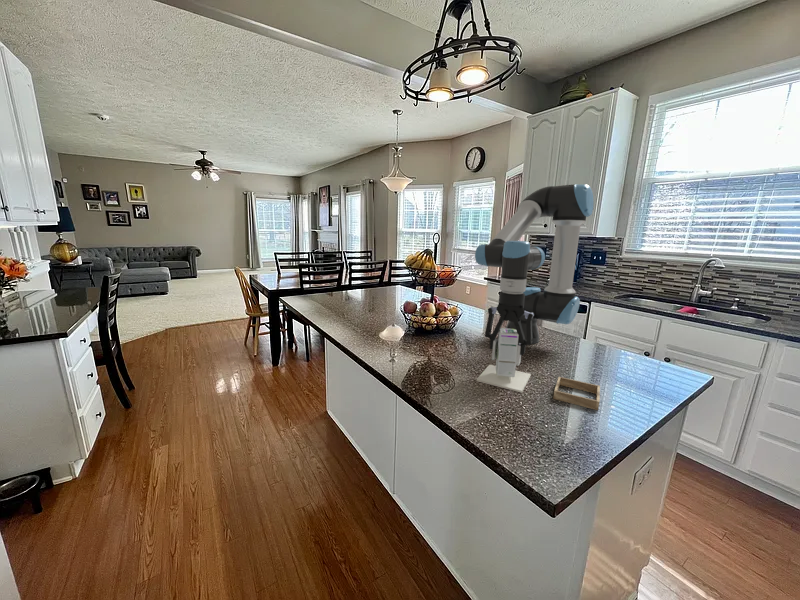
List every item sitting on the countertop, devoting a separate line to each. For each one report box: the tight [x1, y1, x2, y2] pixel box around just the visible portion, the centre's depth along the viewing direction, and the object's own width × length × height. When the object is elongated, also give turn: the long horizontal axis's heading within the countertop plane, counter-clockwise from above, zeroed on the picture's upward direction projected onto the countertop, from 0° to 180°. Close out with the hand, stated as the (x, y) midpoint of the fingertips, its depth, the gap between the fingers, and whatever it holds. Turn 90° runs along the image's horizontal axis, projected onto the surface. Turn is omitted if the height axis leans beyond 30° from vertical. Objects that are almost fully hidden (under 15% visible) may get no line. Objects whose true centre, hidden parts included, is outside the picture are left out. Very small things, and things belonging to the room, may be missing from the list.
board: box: [476, 364, 532, 394], centre depth 107 cm, size 14×14×1 cm
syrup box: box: [495, 327, 519, 377], centre depth 105 cm, size 6×6×14 cm
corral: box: [552, 376, 601, 411], centre depth 96 cm, size 11×11×2 cm
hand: (505, 361), depth 105 cm, fingers closed on syrup box, 7 cm apart
